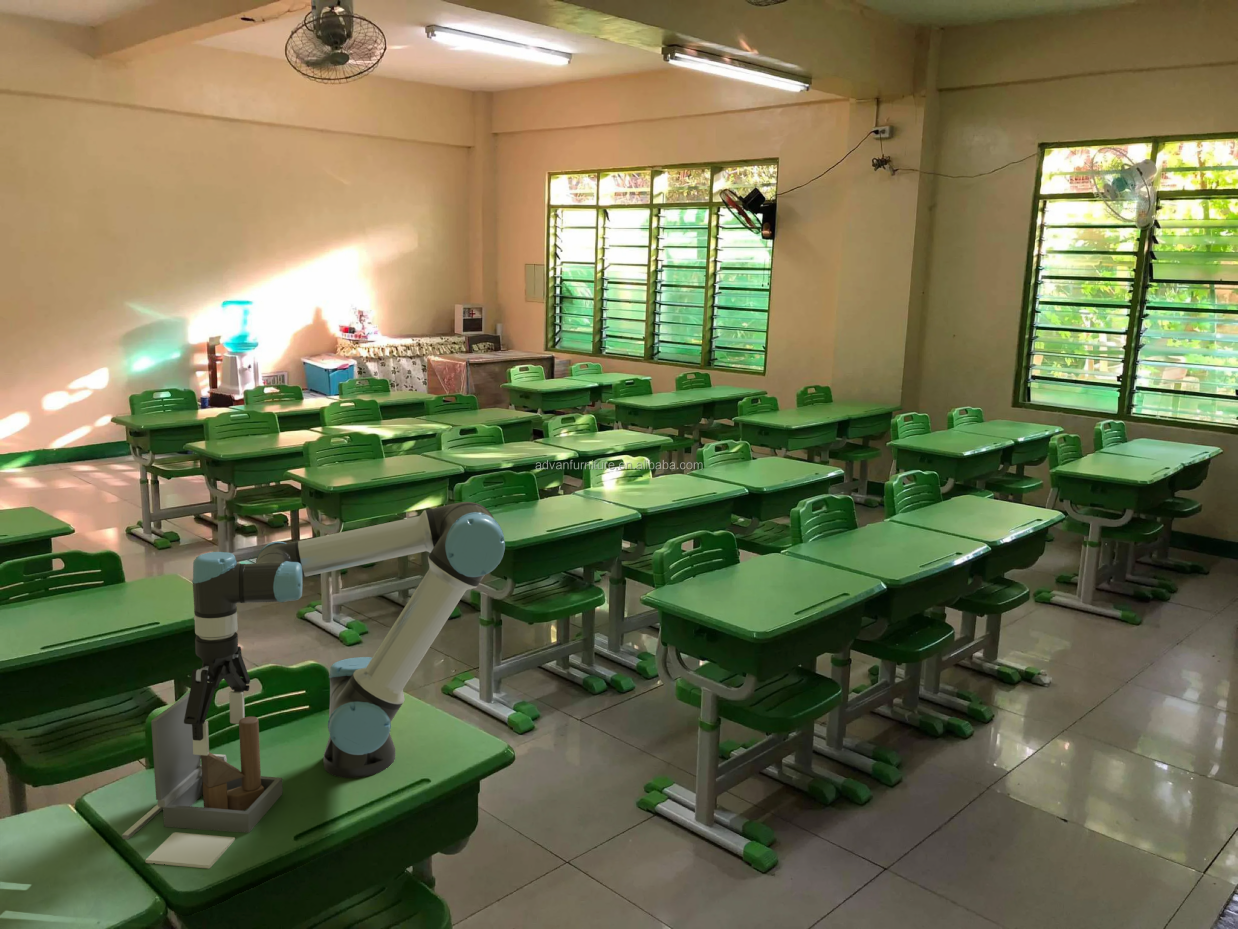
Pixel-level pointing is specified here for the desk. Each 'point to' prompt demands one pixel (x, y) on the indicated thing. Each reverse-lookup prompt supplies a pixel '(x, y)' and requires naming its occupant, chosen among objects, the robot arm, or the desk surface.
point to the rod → (141, 822)
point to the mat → (190, 850)
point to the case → (196, 780)
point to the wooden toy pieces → (234, 772)
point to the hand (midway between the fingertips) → (220, 738)
